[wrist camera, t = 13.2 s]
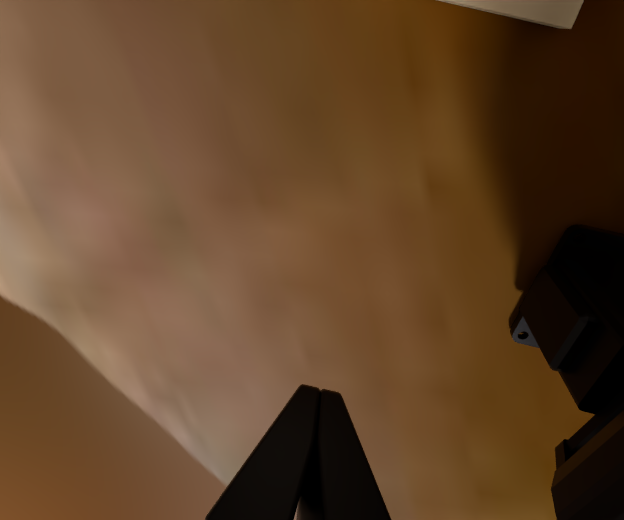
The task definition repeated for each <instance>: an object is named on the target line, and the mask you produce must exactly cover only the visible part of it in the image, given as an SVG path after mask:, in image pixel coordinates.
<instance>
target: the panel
mask: <svg viewBox="0 0 624 520" xmlns="http://www.w3.org/2000/svg"><path fill="white" fill-rule="evenodd" d="M438 1H442V2H447V3H451V4H455V5H460V6H464V7H468V8H473V9H477V10H481V11H486V12H490V13H494V14H499V15H503V16H507V17H512V18H516V19H520V20H525V21H529V22H533V23H538V24H542V25H546V26H551V27H555V28H559V29H571V28H572V26H573V24H574V22H575V19H576V17H577V15H578V13H579V10H580V8H581V6H582V4H583V2H584V0H438Z"/></svg>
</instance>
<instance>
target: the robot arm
mask: <svg viewBox="0 0 624 520" xmlns="http://www.w3.org/2000/svg"><path fill="white" fill-rule="evenodd" d="M577 234H582V236H581V237H580V238H579V239H577V240H573V238H574V237H575V236H576V235H577ZM519 310H520V313H519V315H518V316H517V318H516V320H515V322H514V324H513V325H512V327H511V330H510V333H511V336H512V338H513V340H514V341H515V342H517V343H521V344H525V345H529V346H534V347H538V348H540V349H541V351H542V353H543V355H544V357H545V359H546V361H547V362H548V364H549V366H550V368H551V369H552V370H554V371H558V372H559V374H560V375H561V377H562V379H563V381H564V383H565V384H566V386H567V388H568V390H569V392H570V394H571V395H572V397H573V399H574V401H575V403H576V404H577V406H578V408H579V410H581V411H584V412H588V413H593V414H595V415H594V416H593V417H592V418H591V419H590V420H589V421H588V422H587V423H586V424H585V425H584V426H582V427H581V428H580V429H579V430H578V431H577V432H576V433H575V434H574V435H573V436H572V437H571V438H570V439H568V440H566V439H564V440H563V441H562V442H561V443H560V444H559V445H558V446H557V447H555V455H556V468H557V470H556V471H555V474H554V478H553V483H552V487H551V491H552V497H553V502H554V508H555V513H556V517H557V520H624V234H619V233H615V232H611V231H606V230H602V229H598V228H593V227H589V226H585V225H573V226H571V227H569V228H568V229H567V230H566V231H565V232H564V234H563V236H562V238H561V239H560V241H559V243H558V245H557V247H556V248H555V250H554V252H553V254H552V256H551V257H550V259H549V261H548V263H547V264H546V265H545V266H543V267H542V268H541V270H540V272H539V274H538V275H537V277H536V279H535V281H534V283H533V284H532V286H531V288H530V290H529V292H528V293H527V295H526V297H525V299H524V301H523V302H522V304H521V306H520V308H519ZM522 331H525V333H524V334H519V333H520V332H522ZM297 505H298V506H297ZM296 509H297V520H391V518H390V515H389V513H388V510H387V508H386V505H385V503H384V500H383V498H382V495H381V493H380V490H379V488H378V485H377V483H376V480H375V478H374V475H373V473H372V470H371V468H370V465H369V463H368V460H367V458H366V455H365V453H364V450H363V448H362V445H361V443H360V440H359V438H358V435H357V433H356V430H355V428H354V425H353V423H352V420H351V418H350V415H349V413H348V410H347V408H346V405H345V403H344V400H343V398H342V396H341V394H340V393H338V392H335V391H330V390H326V389H322V390H321V391H320V390H319V388H317V387H313V386H309V385H304V384H302V385H300V386H299V387H298V389H297V390H296V392H295V393H294V394H293V396H292V397H291V399H290V400H289V401H288V403H287V404H286V405H285V407H284V408H283V410H282V411H281V412H280V414H279V415H278V417H277V418H276V419H275V421H274V422H273V424H272V425H271V426H270V428H269V429H268V431H267V432H266V433H265V435H264V436H263V438H262V439H261V440H260V442H259V443H258V445H257V446H256V447H255V449H254V450H253V452H252V453H251V454H250V456H249V457H248V459H247V460H246V461H245V463H244V464H243V465H242V467H241V468H240V470H239V471H238V472H237V474H236V475H235V477H234V478H233V479H232V481H231V482H230V484H229V485H228V486H227V488H226V489H225V491H224V492H223V493H222V495H221V496H220V498H219V499H218V501H217V502H216V504H215V505H214V506H213V507H212V509H211V510H210V512H209V513H208V514H207V516H206V518H205V520H293V519H294V516H295V512H296Z"/></svg>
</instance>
